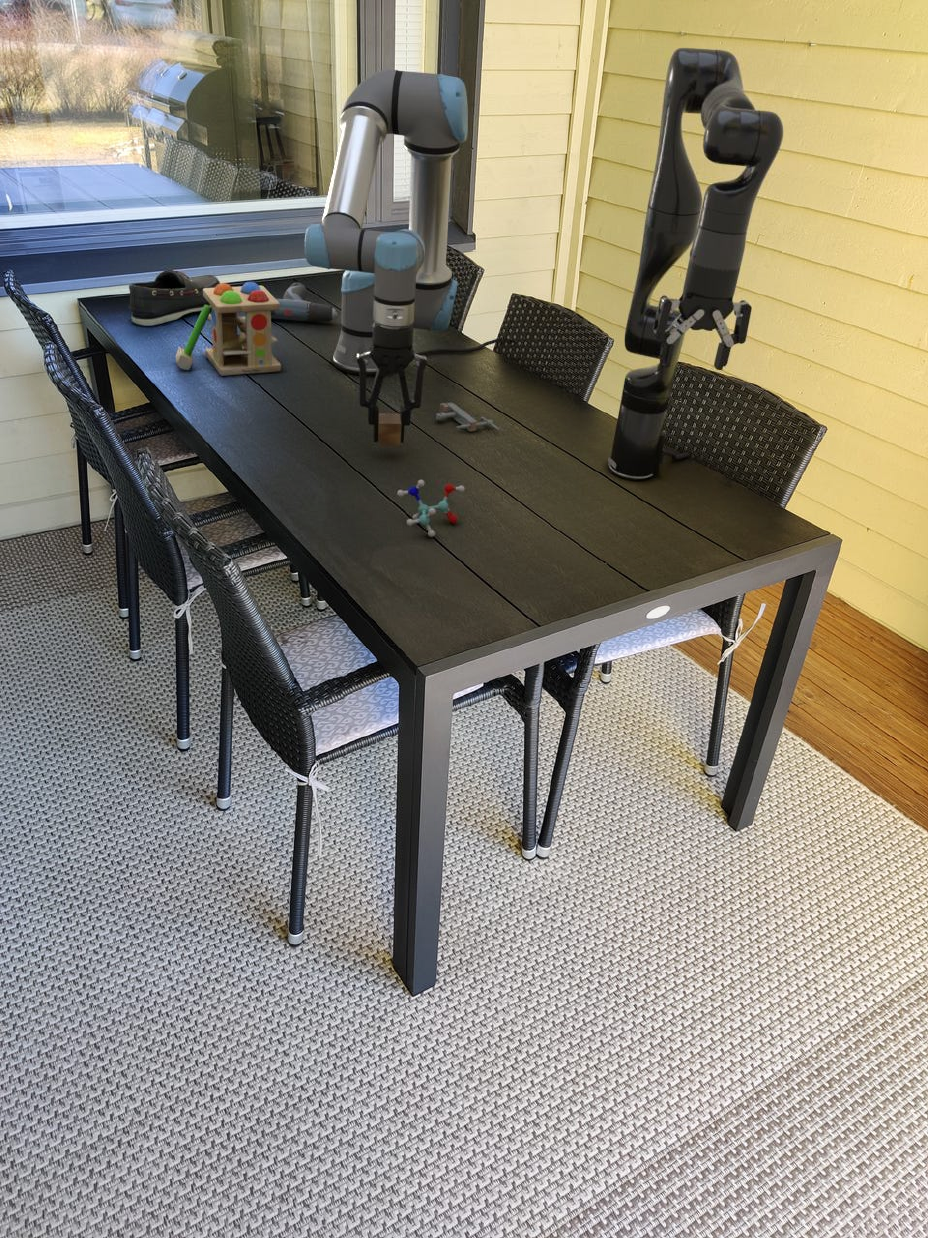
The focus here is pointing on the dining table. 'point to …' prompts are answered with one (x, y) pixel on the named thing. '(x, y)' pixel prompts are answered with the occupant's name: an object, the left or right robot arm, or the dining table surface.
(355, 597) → the dining table surface
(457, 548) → the dining table surface
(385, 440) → the block
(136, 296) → the boat shoe
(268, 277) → the dining table surface
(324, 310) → the power drill
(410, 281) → the left robot arm
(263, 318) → the pounding bench toy
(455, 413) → the clamp
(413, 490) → the molecular model
